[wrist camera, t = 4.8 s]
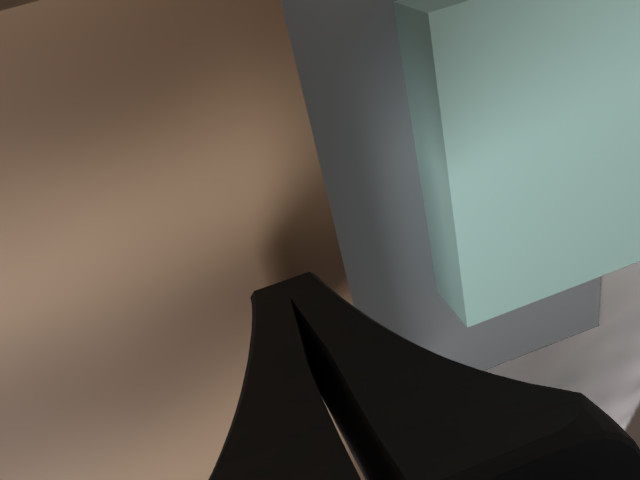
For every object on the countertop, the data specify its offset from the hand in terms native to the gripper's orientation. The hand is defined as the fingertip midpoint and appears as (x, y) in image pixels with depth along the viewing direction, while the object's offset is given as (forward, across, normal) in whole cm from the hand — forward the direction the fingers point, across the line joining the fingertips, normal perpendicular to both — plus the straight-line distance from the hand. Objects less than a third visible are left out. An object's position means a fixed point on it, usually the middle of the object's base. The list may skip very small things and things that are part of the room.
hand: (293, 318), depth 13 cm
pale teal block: (+2, -8, 0) cm, 8 cm away
